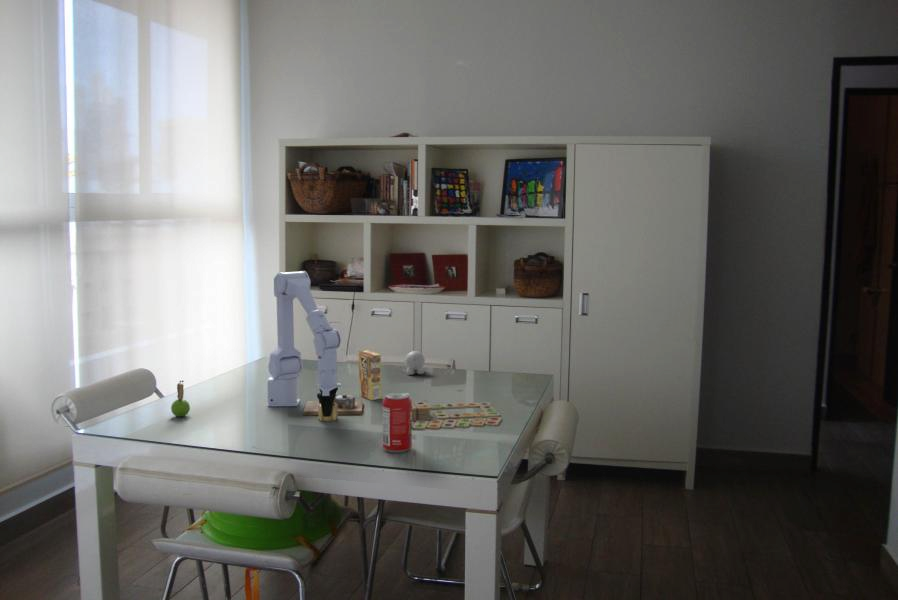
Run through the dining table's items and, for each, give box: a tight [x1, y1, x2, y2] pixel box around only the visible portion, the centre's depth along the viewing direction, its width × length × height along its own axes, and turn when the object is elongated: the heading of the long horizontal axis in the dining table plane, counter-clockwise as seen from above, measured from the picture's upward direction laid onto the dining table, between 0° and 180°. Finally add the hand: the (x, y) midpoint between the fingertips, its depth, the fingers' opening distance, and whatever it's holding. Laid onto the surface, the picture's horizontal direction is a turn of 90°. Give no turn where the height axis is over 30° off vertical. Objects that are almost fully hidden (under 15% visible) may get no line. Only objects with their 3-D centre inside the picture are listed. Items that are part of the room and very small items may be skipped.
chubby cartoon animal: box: [404, 350, 426, 376], centre depth 320 cm, size 8×12×9 cm, turn 4°
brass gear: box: [317, 402, 339, 422], centre depth 253 cm, size 6×6×4 cm
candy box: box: [358, 350, 382, 401], centre depth 280 cm, size 9×4×15 cm, turn 33°
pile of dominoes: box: [412, 401, 503, 431], centre depth 256 cm, size 35×27×6 cm
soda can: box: [381, 392, 413, 454], centre depth 222 cm, size 8×8×15 cm
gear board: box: [302, 394, 364, 416], centre depth 264 cm, size 18×13×5 cm
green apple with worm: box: [170, 380, 191, 418], centre depth 254 cm, size 5×6×12 cm
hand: (327, 413), depth 253 cm, fingers closed on brass gear, 6 cm apart
